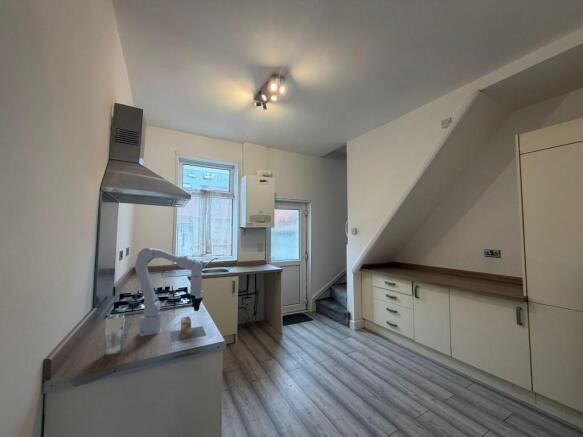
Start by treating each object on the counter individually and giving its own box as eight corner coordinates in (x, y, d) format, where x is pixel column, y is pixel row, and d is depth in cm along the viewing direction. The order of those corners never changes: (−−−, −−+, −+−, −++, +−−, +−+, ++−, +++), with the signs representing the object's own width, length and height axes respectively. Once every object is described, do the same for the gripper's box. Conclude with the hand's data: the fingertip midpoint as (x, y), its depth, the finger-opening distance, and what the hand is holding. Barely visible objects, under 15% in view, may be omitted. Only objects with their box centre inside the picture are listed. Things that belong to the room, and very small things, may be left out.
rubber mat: (170, 343, 114) (170, 342, 114) (169, 332, 126) (169, 331, 126) (206, 336, 121) (206, 335, 122) (202, 326, 134) (202, 326, 134)
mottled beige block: (182, 338, 119) (182, 323, 119) (180, 331, 127) (181, 317, 127) (190, 336, 120) (191, 321, 121) (189, 330, 128) (189, 316, 129)
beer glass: (108, 357, 102) (110, 320, 102) (101, 352, 105) (102, 317, 106) (127, 350, 107) (128, 315, 108) (119, 346, 111) (120, 312, 112)
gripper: (205, 285, 130) (205, 311, 129) (201, 280, 142) (201, 304, 142) (191, 286, 126) (191, 313, 125) (188, 282, 139) (188, 306, 138)
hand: (195, 309), depth 133 cm, fingers open, 7 cm apart
